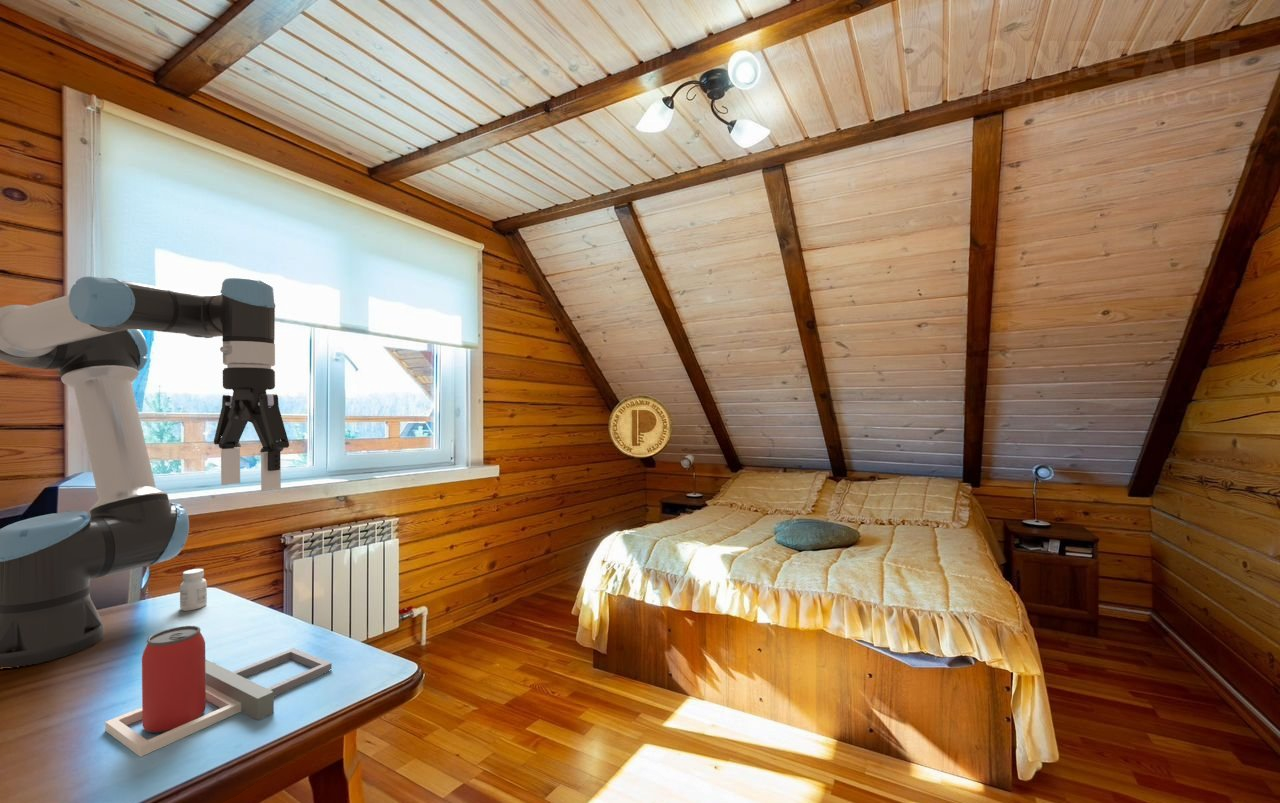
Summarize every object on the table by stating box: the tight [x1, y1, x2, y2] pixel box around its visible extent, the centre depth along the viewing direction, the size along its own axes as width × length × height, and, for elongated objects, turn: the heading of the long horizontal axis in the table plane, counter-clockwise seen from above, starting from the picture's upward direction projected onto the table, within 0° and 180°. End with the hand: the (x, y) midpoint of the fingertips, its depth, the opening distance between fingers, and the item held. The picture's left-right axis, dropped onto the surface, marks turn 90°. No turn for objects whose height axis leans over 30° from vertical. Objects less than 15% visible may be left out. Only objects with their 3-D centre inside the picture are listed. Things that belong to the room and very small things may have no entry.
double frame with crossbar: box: [104, 647, 333, 758], centre depth 80 cm, size 20×24×3 cm
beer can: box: [141, 625, 207, 734], centre depth 74 cm, size 7×7×12 cm
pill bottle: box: [179, 568, 208, 612], centre depth 114 cm, size 4×4×8 cm
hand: (250, 486), depth 95 cm, fingers open, 13 cm apart
